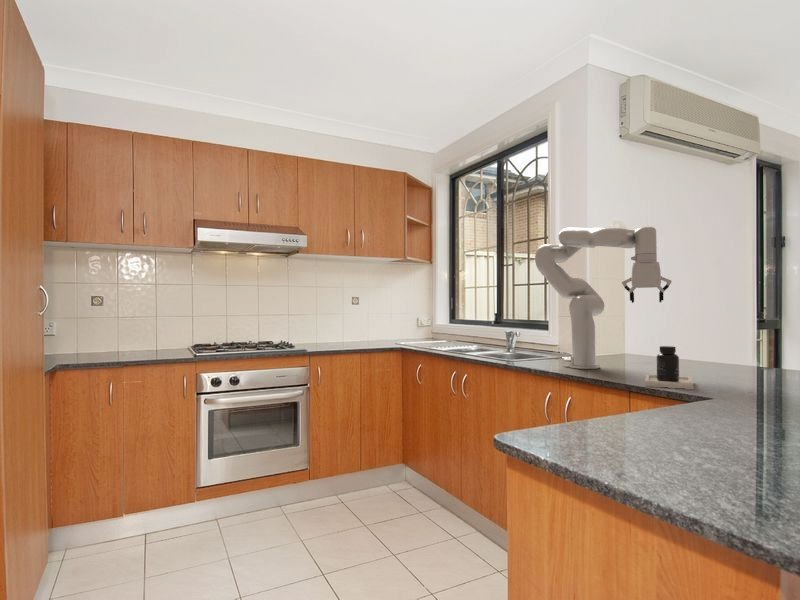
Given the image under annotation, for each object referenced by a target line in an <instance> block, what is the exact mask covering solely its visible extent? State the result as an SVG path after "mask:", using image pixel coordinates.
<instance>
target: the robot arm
mask: <svg viewBox="0 0 800 600" xmlns="http://www.w3.org/2000/svg"><path fill="white" fill-rule="evenodd" d="M558 241H559V243H560V244H554V243H552V244H549V243H547V244H543V245H540V246H539V247H538V248H537V250H536V252H535V257H534V261H535V265H536V268H537V270H538V271H539V272H540V274H541V275H542V277H544V278H545V279H546V281H548V283H549V284H550V285H551V287H552V288H554V290H555V291H556V293H558V295H559V296H560V297H561V298H563V299H566V300H570V302H569V305H568V307H569V315H570V322H571V353H572V355H571V356H569V357H564V356H562V358H561V361H562V362H564V363H569V364H568V368H570V369H571V368H572V369H576V370H577V369H578V370H579V369H580V370H596V369H599V368H601V367H600V364H598V363H596V324H595V321H594V317H596V316H600V315H601V314H602V313H603V312H604V310H605V302H604V301H603V298H602V297H601V296H600V295H599V294H598V293H597V291H595V289H594V287H592V286H591V285H590V284H589V283H588V282H587V281H586V280H584V279H582V278H578V277H571V276H570V274H568V273H567V272H566V271H565V270H564V268H562V266H560V265H559V264H563V263H565V262H567V261H568V260H569V259H570V258H571V259H572V257H573V256H574V255H575V254H577V253H578V252H579V251H580V250H581V249H582V248H590V249H594V248H595V247H608V248H609V247H610V248H620V249H621V248H622V249H634V256H631V257H630V259H631V261H633V263H632V268H631V277H629V278H627V279H625V280H623V281H622V282H621V284H622V286H623V287H624V290H626V291H627V292H629V301H631V303H632V304H633V303H635V292H634V291H635V289H637V288H639V289H641V288H643V289H645V288H647V289H648V288H651V289H652V288H657V289H658V290H659V292H658V295H659V297H658V298H659V299H658V300H659V303H662V301H664V293H665V291H666V290H668V288H669V287H670V285H672V280H671V279H669V278H666V277H664V276H661V275H662V272H661V266H660V262H659V261H657V260H658V259H657V256H658V255H657V249H658V248H657V230H656V228H655V227H653V226H643V227H637V229H627V228H621V227H618V228H617V227H565V228H563V229H562V230H560V232H559V233H558ZM630 282H631V287H629V286H628V284H629V283H630ZM662 282H665V283H666V284H665V285H664V286H663V287H662V286H661V285H662Z"/></svg>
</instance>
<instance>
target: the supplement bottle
mask: <svg viewBox="0 0 800 600" xmlns="http://www.w3.org/2000/svg"><path fill="white" fill-rule="evenodd" d="M676 351H677V350H676V346H673V345H672V346H669V345H660V346H659V353H658V354H657V355H656V375H657V380H658V381H667V382H678V381H679V376H680V356H679V355H678V354H676V353H677V352H676Z"/></svg>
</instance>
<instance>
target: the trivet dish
mask: <svg viewBox="0 0 800 600" xmlns="http://www.w3.org/2000/svg"><path fill="white" fill-rule="evenodd" d="M645 386H647V387H649V388H660V387H668V388H667V389H675V388H686V389H685V390H690V389H693V390H694V381H693V379H692V376H680V375H679V381H678V382H667V381H658V380H657V374H646V375H645V380H644V387H645Z"/></svg>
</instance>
